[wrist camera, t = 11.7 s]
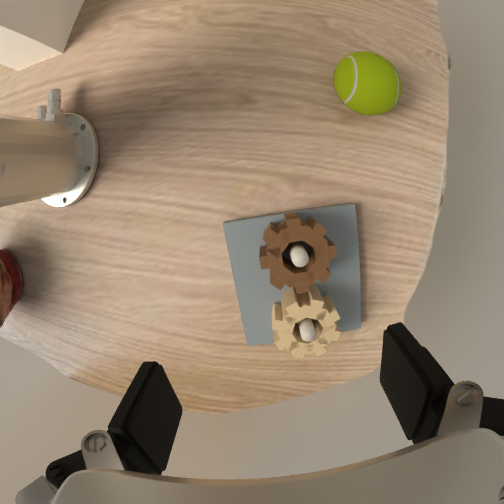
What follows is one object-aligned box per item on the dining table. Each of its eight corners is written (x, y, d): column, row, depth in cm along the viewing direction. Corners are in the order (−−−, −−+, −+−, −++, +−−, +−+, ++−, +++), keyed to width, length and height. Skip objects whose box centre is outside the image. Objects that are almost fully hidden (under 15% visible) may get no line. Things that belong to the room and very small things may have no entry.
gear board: (224, 221, 29) (214, 232, 24) (351, 202, 28) (371, 209, 22) (248, 340, 33) (245, 370, 27) (357, 323, 32) (373, 349, 26)
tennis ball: (328, 117, 26) (346, 100, 19) (326, 62, 24) (340, 34, 17) (386, 125, 26) (416, 113, 19) (382, 71, 24) (408, 50, 17)
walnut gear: (255, 218, 28) (253, 225, 24) (323, 208, 27) (332, 213, 24) (266, 283, 30) (266, 298, 26) (330, 273, 29) (338, 286, 25)
